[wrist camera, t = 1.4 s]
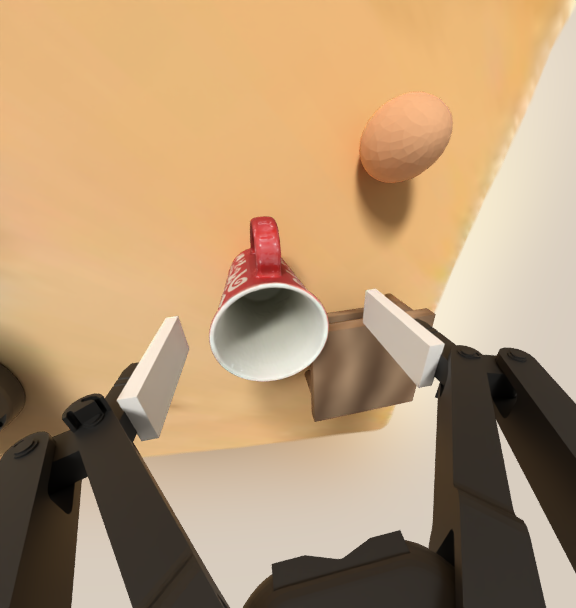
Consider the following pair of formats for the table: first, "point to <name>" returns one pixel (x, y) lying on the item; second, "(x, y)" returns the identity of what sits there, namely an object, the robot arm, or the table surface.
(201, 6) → the table surface
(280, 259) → the mug
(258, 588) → the robot arm
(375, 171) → the egg
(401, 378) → the stool
